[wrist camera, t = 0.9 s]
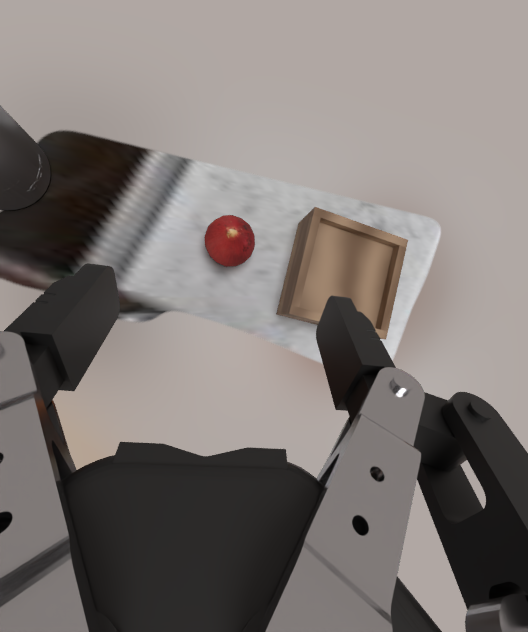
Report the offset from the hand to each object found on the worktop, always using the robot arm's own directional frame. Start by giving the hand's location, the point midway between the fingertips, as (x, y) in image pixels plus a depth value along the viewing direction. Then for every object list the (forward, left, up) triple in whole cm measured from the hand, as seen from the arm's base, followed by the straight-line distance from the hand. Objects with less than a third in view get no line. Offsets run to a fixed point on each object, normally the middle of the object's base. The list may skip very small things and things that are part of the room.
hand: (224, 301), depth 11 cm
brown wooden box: (+15, +8, -26) cm, 31 cm away
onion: (0, +8, -26) cm, 27 cm away
